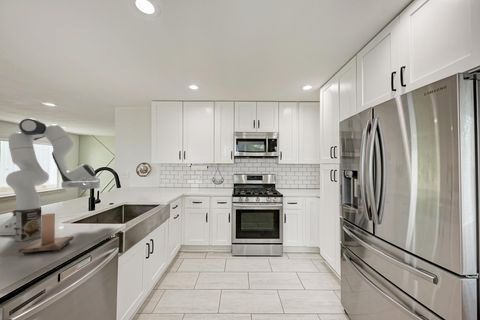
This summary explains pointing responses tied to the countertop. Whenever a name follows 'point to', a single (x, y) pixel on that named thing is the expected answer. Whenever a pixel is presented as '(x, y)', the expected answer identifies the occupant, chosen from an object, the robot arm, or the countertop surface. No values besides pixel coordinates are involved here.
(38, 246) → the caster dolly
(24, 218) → the coffee box
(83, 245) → the countertop surface
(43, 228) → the terracotta canister
